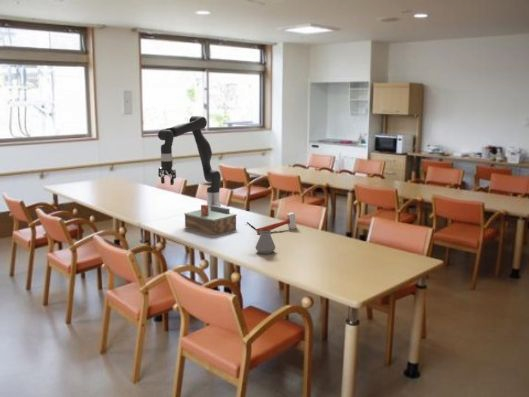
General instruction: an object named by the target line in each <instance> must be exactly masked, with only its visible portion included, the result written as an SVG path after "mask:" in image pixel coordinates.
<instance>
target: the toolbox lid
mask: <svg viewBox="0 0 529 397" xmlns="http://www.w3.org/2000/svg"><path fill="white" fill-rule="evenodd" d="M208 213H209V215H207V216H202V215H201V209H198V210H193V211H189V212H185V213H184V214H183V215H184V216H185V215H188V216H192V217H196V218H201V219H205V220H210V221H218V220H222V219H226V218H230V217H234V216H236V217H237V216H238V215H237V213H232V212H230V208H227V207H223V206H221V207H218V206H213V205H212V206H211V209H208Z"/></svg>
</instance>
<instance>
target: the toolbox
mask: <svg viewBox="0 0 529 397" xmlns="http://www.w3.org/2000/svg"><path fill="white" fill-rule="evenodd" d="M184 226H185V229H188V230H192V231H196V232H201V233H204V234H205V233H206V234H208V235H212V234H213V235H214V236H216V234H217V235H221V234H223V233H227V232H230V231H234V230H237V216H234V217H230V218H226V219H222V220H218V221H210V220H205V219H201V218H196V217H192V216H188V215H184ZM213 235H212V236H213Z"/></svg>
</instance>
